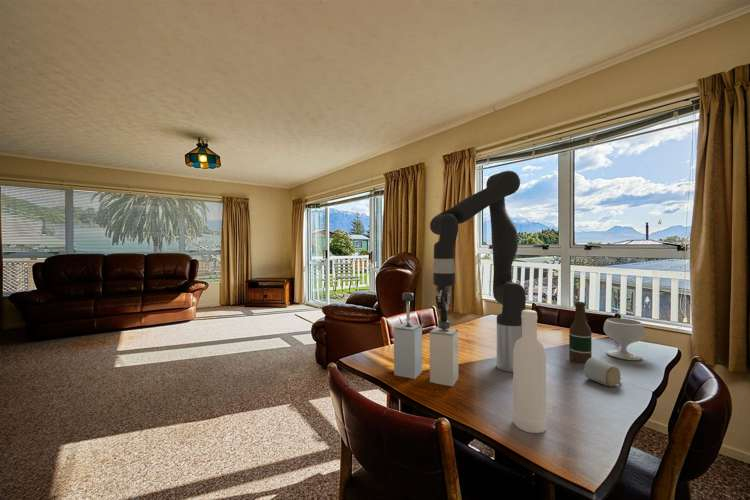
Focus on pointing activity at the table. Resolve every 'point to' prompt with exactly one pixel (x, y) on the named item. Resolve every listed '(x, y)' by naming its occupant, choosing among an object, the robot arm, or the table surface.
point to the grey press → (408, 350)
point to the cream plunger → (444, 325)
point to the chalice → (624, 336)
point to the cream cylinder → (602, 372)
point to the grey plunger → (408, 305)
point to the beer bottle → (580, 336)
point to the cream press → (444, 356)
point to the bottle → (529, 377)
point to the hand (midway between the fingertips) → (444, 320)
